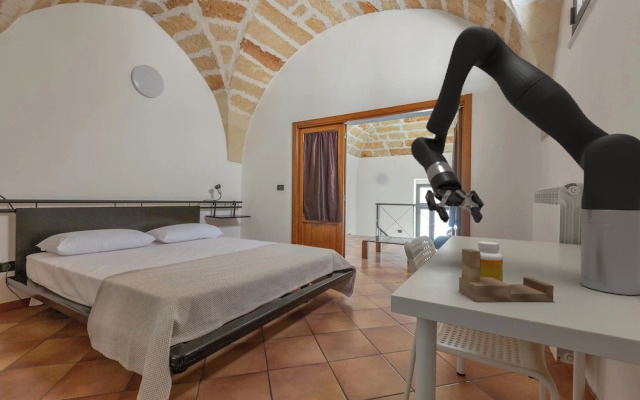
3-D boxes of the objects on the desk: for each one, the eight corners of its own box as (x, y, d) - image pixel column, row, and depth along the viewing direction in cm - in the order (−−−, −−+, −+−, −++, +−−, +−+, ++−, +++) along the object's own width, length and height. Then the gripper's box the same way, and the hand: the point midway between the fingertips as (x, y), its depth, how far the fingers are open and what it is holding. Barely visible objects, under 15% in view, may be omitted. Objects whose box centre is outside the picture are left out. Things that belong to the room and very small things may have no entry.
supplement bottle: (508, 290, 59) (508, 244, 59) (482, 290, 59) (483, 244, 59) (493, 283, 64) (493, 241, 64) (469, 282, 64) (469, 240, 64)
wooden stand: (529, 291, 58) (529, 248, 58) (553, 301, 52) (553, 254, 52) (459, 291, 58) (459, 248, 58) (475, 301, 52) (475, 253, 52)
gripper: (422, 169, 80) (440, 210, 69) (471, 170, 81) (496, 211, 69) (416, 188, 86) (431, 229, 74) (461, 189, 86) (483, 230, 75)
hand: (463, 220), depth 72 cm, fingers open, 8 cm apart
